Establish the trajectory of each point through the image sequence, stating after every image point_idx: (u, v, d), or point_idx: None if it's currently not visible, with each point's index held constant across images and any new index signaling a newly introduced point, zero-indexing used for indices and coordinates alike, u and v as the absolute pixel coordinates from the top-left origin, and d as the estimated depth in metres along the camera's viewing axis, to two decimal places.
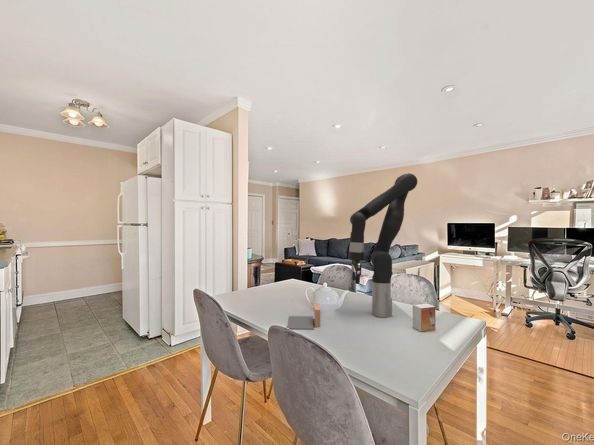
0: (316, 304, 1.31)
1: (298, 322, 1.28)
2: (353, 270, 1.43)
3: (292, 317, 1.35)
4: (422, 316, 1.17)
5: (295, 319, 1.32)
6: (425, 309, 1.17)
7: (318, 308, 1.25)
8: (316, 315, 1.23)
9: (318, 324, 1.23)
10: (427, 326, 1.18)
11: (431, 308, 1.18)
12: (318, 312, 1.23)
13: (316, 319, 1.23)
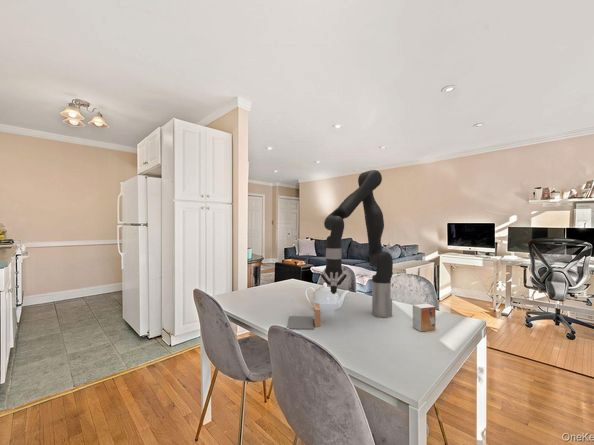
0: (316, 304, 1.31)
1: (298, 322, 1.28)
2: None
3: (292, 317, 1.35)
4: (422, 316, 1.17)
5: (295, 319, 1.32)
6: (425, 309, 1.17)
7: (318, 308, 1.25)
8: (316, 315, 1.23)
9: (318, 324, 1.23)
10: (427, 326, 1.18)
11: (431, 308, 1.18)
12: (318, 312, 1.23)
13: (316, 319, 1.23)
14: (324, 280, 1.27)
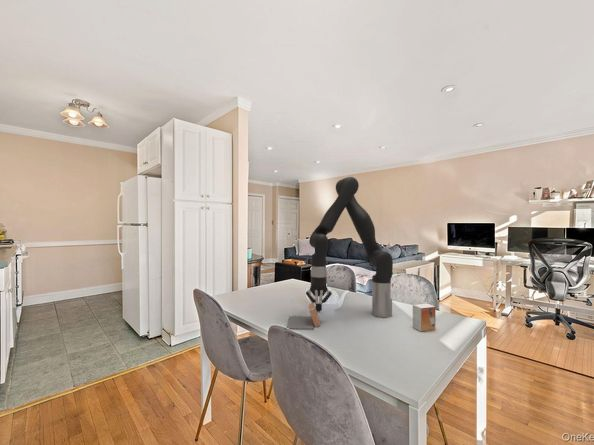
0: (311, 304, 1.31)
1: (298, 322, 1.28)
2: None
3: (292, 317, 1.35)
4: (422, 316, 1.17)
5: (295, 319, 1.32)
6: (425, 309, 1.17)
7: (312, 308, 1.25)
8: (312, 315, 1.23)
9: (317, 323, 1.23)
10: (427, 326, 1.18)
11: (431, 308, 1.18)
12: (313, 312, 1.23)
13: (313, 319, 1.23)
14: (309, 298, 1.27)
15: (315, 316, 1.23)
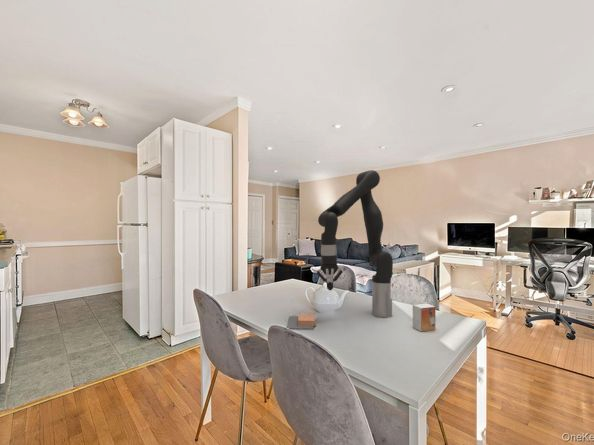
0: None
1: None
2: None
3: (292, 317, 1.35)
4: (422, 316, 1.17)
5: (295, 319, 1.32)
6: (425, 309, 1.17)
7: (298, 320, 1.25)
8: (303, 324, 1.23)
9: (312, 322, 1.23)
10: (427, 326, 1.18)
11: (431, 308, 1.18)
12: (300, 322, 1.23)
13: (307, 324, 1.23)
14: None
15: (305, 322, 1.23)
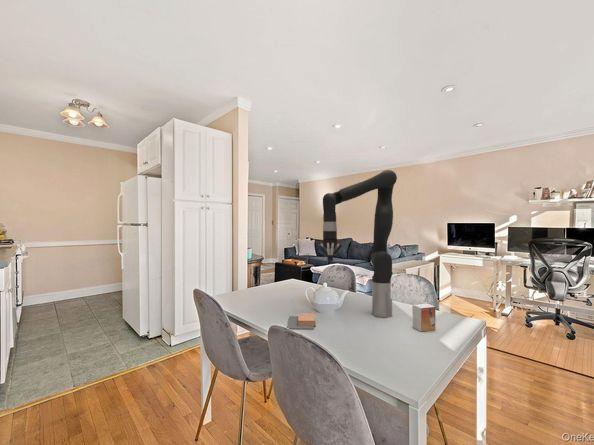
0: None
1: None
2: (329, 250, 1.44)
3: (292, 317, 1.35)
4: (422, 316, 1.17)
5: (295, 319, 1.32)
6: (425, 309, 1.17)
7: (298, 320, 1.25)
8: (303, 324, 1.23)
9: (312, 322, 1.23)
10: (427, 326, 1.18)
11: (431, 308, 1.18)
12: (300, 322, 1.23)
13: (307, 324, 1.23)
14: (322, 250, 1.44)
15: (305, 322, 1.23)
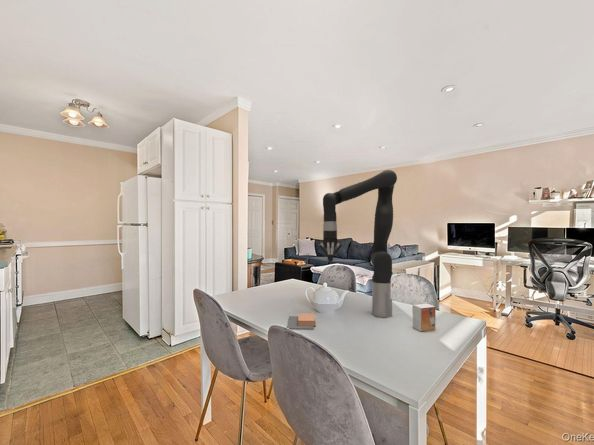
0: None
1: None
2: (329, 250, 1.45)
3: (292, 317, 1.35)
4: (422, 316, 1.17)
5: (295, 319, 1.32)
6: (425, 309, 1.17)
7: (298, 320, 1.25)
8: (303, 324, 1.23)
9: (312, 322, 1.23)
10: (427, 326, 1.18)
11: (431, 308, 1.18)
12: (300, 322, 1.23)
13: (307, 324, 1.23)
14: (322, 249, 1.45)
15: (305, 322, 1.23)
